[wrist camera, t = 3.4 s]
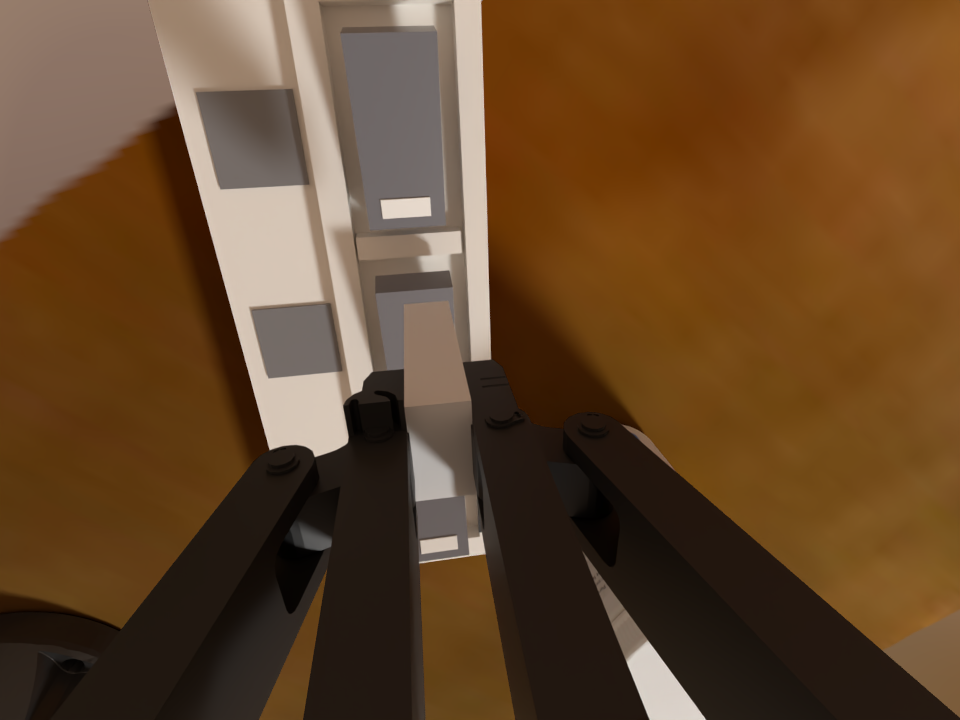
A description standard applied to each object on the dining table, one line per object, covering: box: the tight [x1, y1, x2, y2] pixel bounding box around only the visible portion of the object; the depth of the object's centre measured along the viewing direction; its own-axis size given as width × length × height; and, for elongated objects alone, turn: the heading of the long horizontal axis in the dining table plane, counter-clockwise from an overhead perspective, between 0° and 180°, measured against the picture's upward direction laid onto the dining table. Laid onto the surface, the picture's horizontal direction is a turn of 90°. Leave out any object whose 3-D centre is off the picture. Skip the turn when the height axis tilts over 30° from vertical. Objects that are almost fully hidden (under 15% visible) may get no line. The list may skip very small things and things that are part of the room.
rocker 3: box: [416, 496, 469, 562], centre depth 28 cm, size 3×7×2 cm, turn 2°
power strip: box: [147, 0, 491, 563], centre depth 28 cm, size 12×36×5 cm, turn 2°
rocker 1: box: [340, 25, 446, 230], centre depth 20 cm, size 3×7×2 cm, turn 2°
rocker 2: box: [375, 270, 454, 370], centre depth 24 cm, size 3×7×2 cm, turn 2°
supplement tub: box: [583, 424, 706, 720], centre depth 30 cm, size 10×10×15 cm
